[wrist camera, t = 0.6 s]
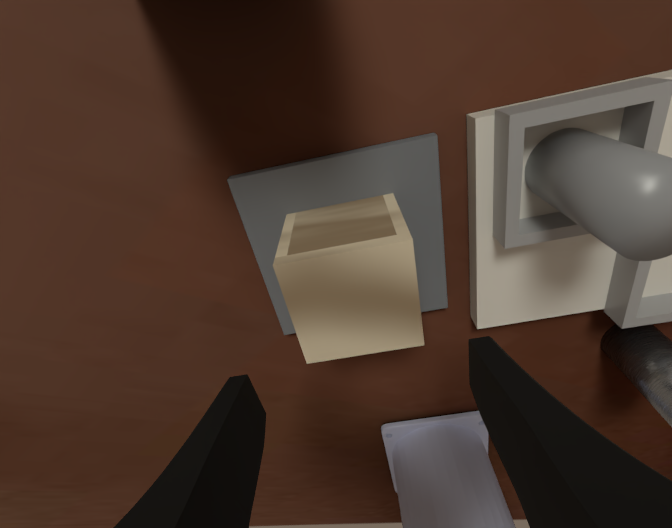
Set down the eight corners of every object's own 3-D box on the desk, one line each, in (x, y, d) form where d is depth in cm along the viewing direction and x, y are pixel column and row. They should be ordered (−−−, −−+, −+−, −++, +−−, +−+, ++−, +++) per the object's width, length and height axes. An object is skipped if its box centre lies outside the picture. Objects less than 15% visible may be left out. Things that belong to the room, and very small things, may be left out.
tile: (444, 301, 22) (455, 324, 20) (285, 328, 23) (281, 352, 21) (433, 132, 17) (446, 142, 15) (229, 176, 18) (218, 190, 16)
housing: (404, 282, 20) (424, 345, 16) (311, 299, 21) (306, 363, 17) (392, 193, 18) (412, 239, 13) (286, 214, 18) (272, 265, 14)
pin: (647, 351, 24) (732, 432, 19) (597, 358, 25) (667, 441, 19) (658, 314, 23) (755, 393, 17) (605, 323, 23) (684, 402, 18)
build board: (711, 279, 21) (867, 373, 15) (470, 318, 23) (523, 420, 16) (807, 35, 15) (1140, 26, 9) (466, 109, 16) (548, 146, 10)
